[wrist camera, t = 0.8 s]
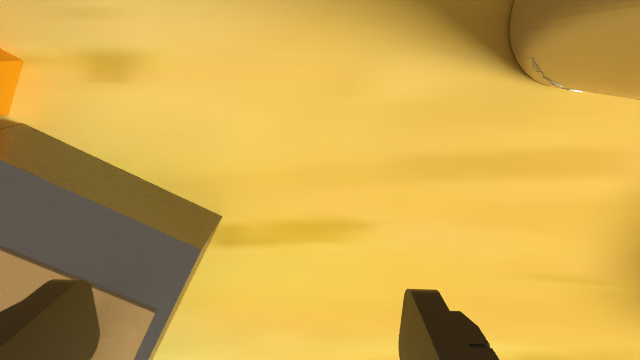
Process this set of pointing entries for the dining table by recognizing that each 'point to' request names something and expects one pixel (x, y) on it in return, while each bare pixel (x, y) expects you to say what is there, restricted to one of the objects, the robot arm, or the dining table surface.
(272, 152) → the dining table surface
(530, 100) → the dining table surface
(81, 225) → the steel riser
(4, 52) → the pipe clamp
